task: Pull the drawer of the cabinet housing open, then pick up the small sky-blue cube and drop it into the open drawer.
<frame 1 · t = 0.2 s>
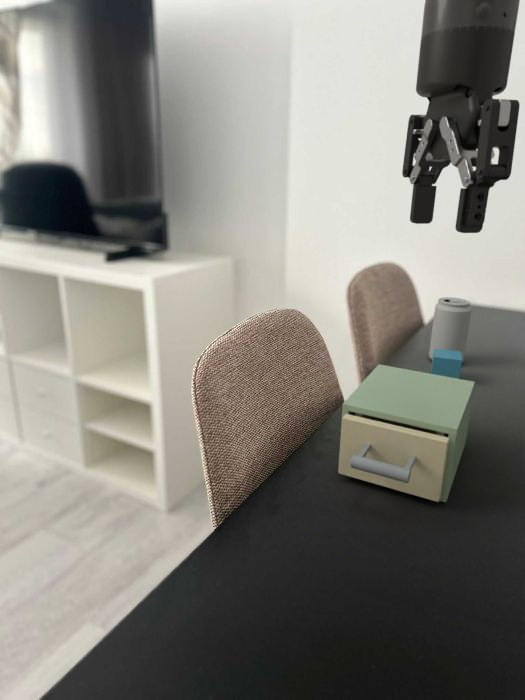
hand: (442, 227, 49), 29 cm above the table, tool pointing down, fingers open, 8 cm apart
cabinet housing: (404, 457, 65), on the table
beverage can: (445, 362, 99), on the table
small sky-blue cube: (444, 378, 90), on the table
drawer: (399, 441, 60), point 5 cm above the table, slide at 0.5 cm
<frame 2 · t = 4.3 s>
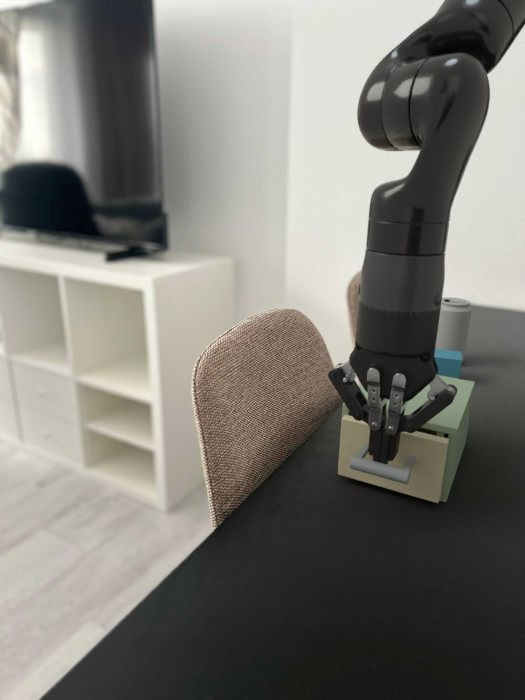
hand: (381, 459, 54), 6 cm above the table, tool pointing down, fingers closed
drawer: (398, 442, 60), point 5 cm above the table, slide at 0.8 cm, touching gripper
everything else where it was.
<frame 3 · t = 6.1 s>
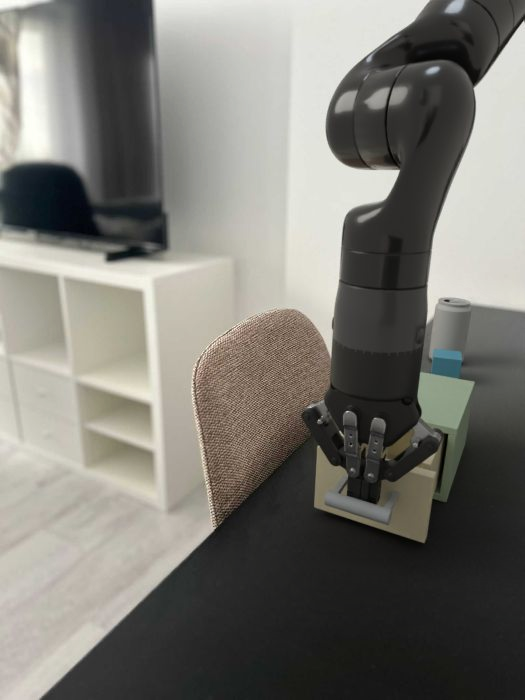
hand: (362, 507, 49), 4 cm above the table, tool pointing down, fingers closed
drawer: (382, 471, 54), point 5 cm above the table, slide at 7.8 cm, touching gripper
everything else where it was.
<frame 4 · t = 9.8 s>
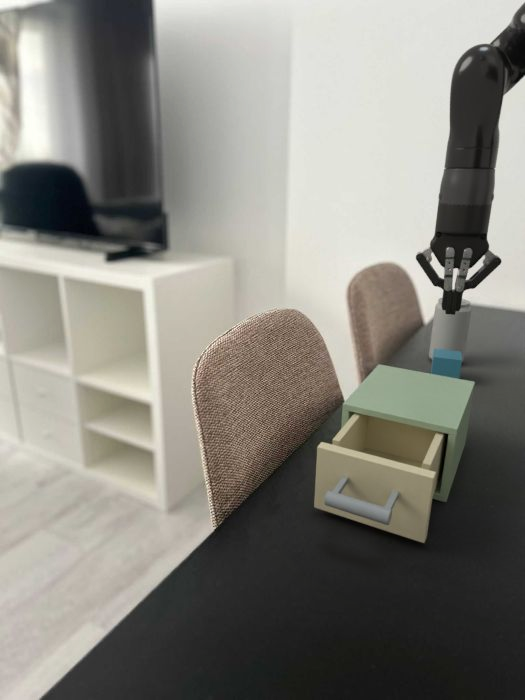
hand: (449, 313, 82), 13 cm above the table, tool pointing down, fingers closed
drawer: (382, 471, 54), point 5 cm above the table, slide at 7.8 cm
everything else where it was.
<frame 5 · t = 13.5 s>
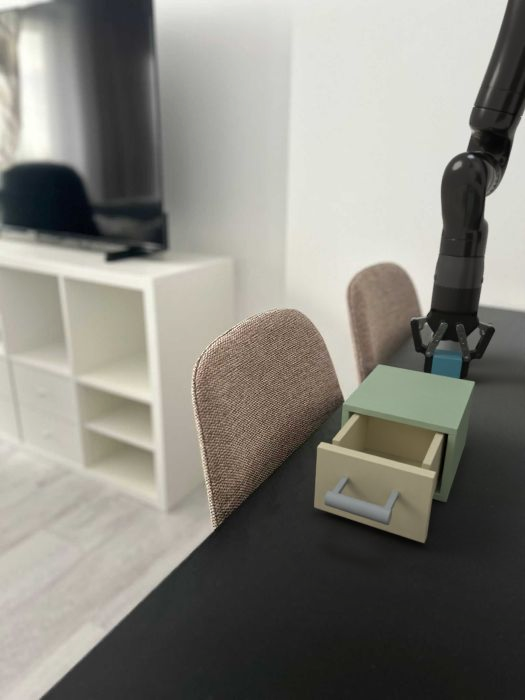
hand: (444, 376, 90), 0 cm above the table, tool pointing down, fingers closed on small sky-blue cube, 4 cm apart
small sky-blue cube: (444, 378, 90), on the table, touching gripper
everything else where it was.
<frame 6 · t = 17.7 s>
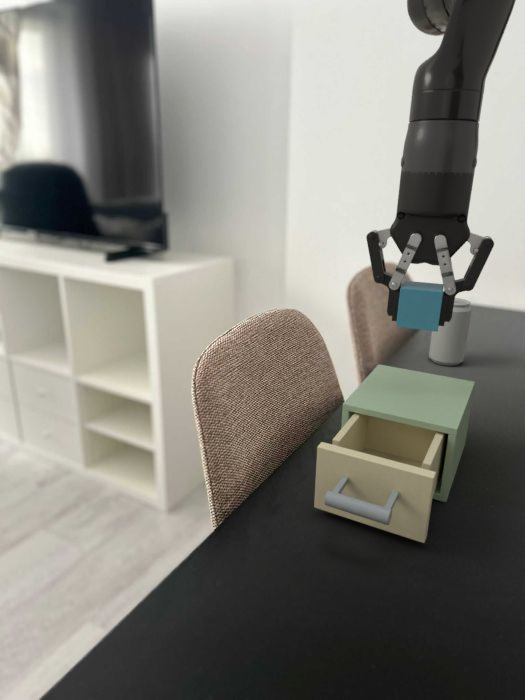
hand: (417, 321, 60), 18 cm above the table, tool pointing down, fingers closed on small sky-blue cube, 4 cm apart
small sky-blue cube: (417, 324, 61), point 17 cm above the table, touching gripper
everything else where it was.
when the fingers open (7 cm above the table, at t = 22.4 s): small sky-blue cube stays where it is, resting on drawer.
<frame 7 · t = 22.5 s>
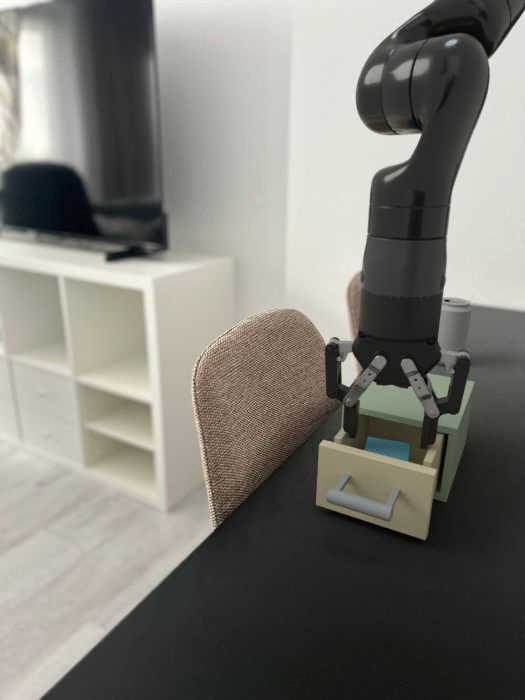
hand: (387, 439, 54), 8 cm above the table, tool pointing down, fingers open, 6 cm apart
small sky-blue cube: (383, 487, 56), point 2 cm above the table, touching drawer
drawer: (383, 469, 54), point 5 cm above the table, slide at 7.3 cm, touching small sky-blue cube
everything else where it was.
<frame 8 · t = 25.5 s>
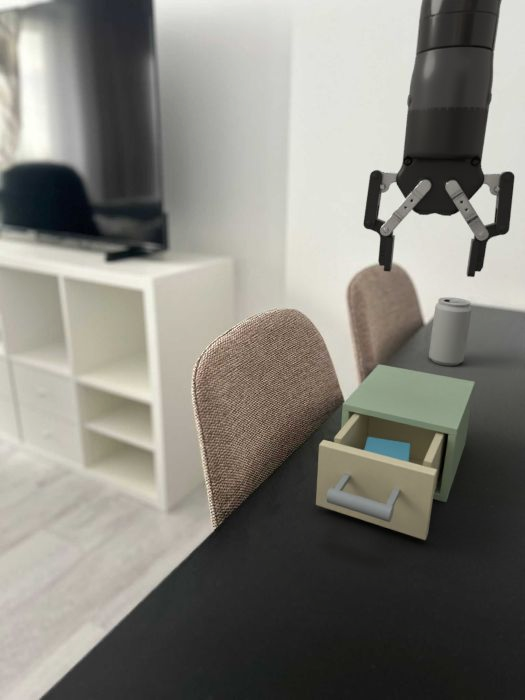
hand: (427, 272, 55), 24 cm above the table, tool pointing down, fingers open, 8 cm apart
nothing on the table moved.
at the end: drawer slide at 7.3 cm; small sky-blue cube inside the target area in the drawer (0.6 cm from its centre), point 2.0 cm above the cabinet housing's base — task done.
